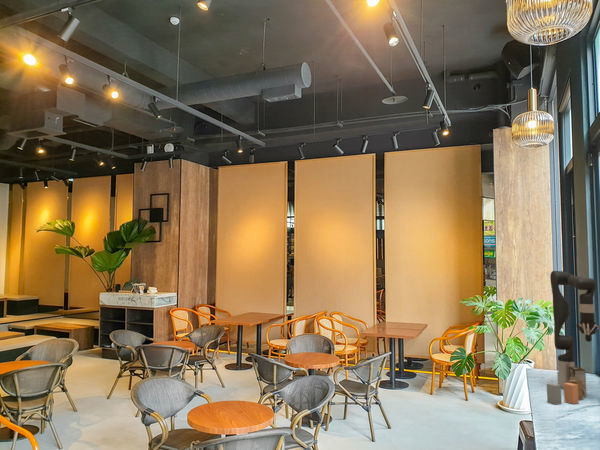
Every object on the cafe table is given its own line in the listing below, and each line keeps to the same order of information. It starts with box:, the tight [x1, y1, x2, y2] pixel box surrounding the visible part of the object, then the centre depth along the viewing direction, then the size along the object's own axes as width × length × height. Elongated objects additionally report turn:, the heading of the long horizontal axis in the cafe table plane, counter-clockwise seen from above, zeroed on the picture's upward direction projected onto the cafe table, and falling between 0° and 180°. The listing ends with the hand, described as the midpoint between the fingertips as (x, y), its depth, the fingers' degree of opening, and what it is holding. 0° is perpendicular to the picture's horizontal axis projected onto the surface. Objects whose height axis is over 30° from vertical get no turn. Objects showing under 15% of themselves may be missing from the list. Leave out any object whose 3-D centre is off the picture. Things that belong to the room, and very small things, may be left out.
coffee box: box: [569, 366, 588, 399], centre depth 273 cm, size 9×6×16 cm
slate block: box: [546, 382, 562, 405], centre depth 256 cm, size 5×5×10 cm
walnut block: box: [568, 380, 584, 401], centre depth 265 cm, size 5×5×10 cm
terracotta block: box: [563, 383, 580, 405], centre depth 257 cm, size 5×5×10 cm
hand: (588, 341), depth 268 cm, fingers closed
